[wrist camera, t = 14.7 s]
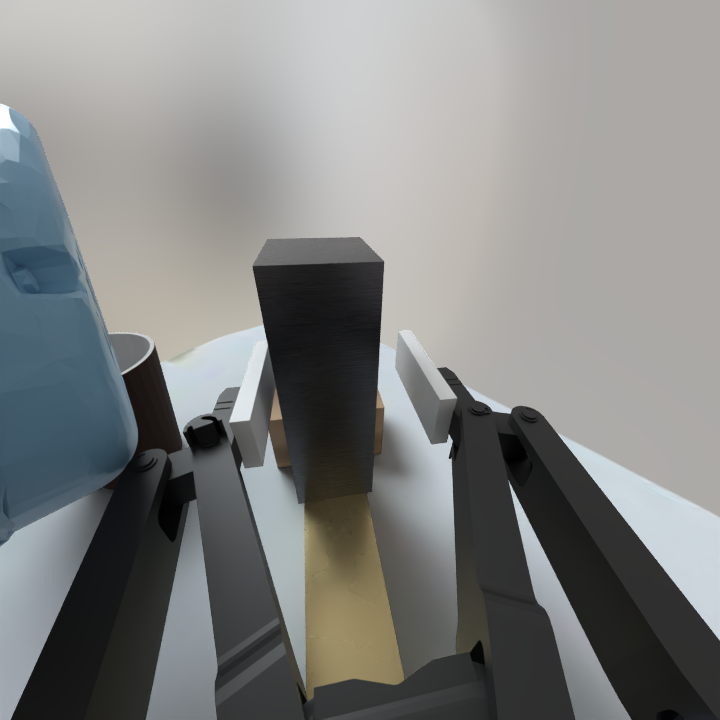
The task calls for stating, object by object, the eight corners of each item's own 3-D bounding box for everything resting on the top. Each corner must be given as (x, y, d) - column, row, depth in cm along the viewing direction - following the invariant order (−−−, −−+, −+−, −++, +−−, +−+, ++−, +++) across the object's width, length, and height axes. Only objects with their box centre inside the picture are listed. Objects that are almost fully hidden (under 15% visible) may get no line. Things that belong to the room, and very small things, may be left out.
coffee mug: (214, 444, 26) (177, 351, 20) (103, 526, 20) (8, 424, 14) (151, 398, 31) (108, 315, 26) (48, 451, 25) (-37, 356, 20)
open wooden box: (380, 453, 25) (384, 407, 22) (277, 467, 24) (266, 420, 21) (367, 408, 30) (369, 365, 27) (281, 417, 29) (273, 374, 26)
